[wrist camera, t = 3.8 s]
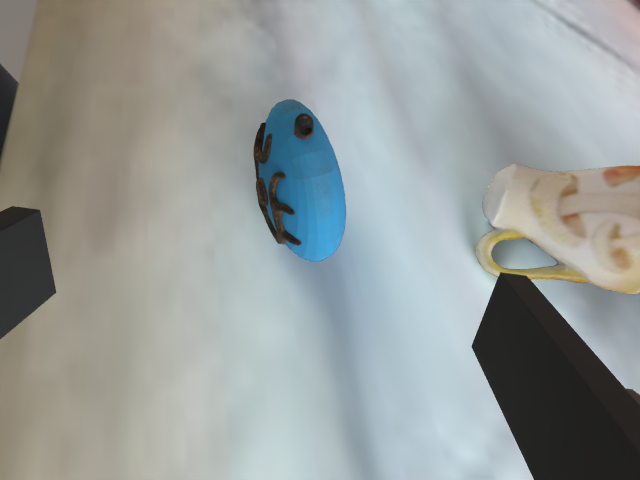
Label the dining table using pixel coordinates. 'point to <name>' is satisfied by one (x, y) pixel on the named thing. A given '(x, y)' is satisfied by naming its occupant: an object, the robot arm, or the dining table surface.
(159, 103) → the dining table surface
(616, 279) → the mug
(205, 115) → the dining table surface
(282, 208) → the ornament
